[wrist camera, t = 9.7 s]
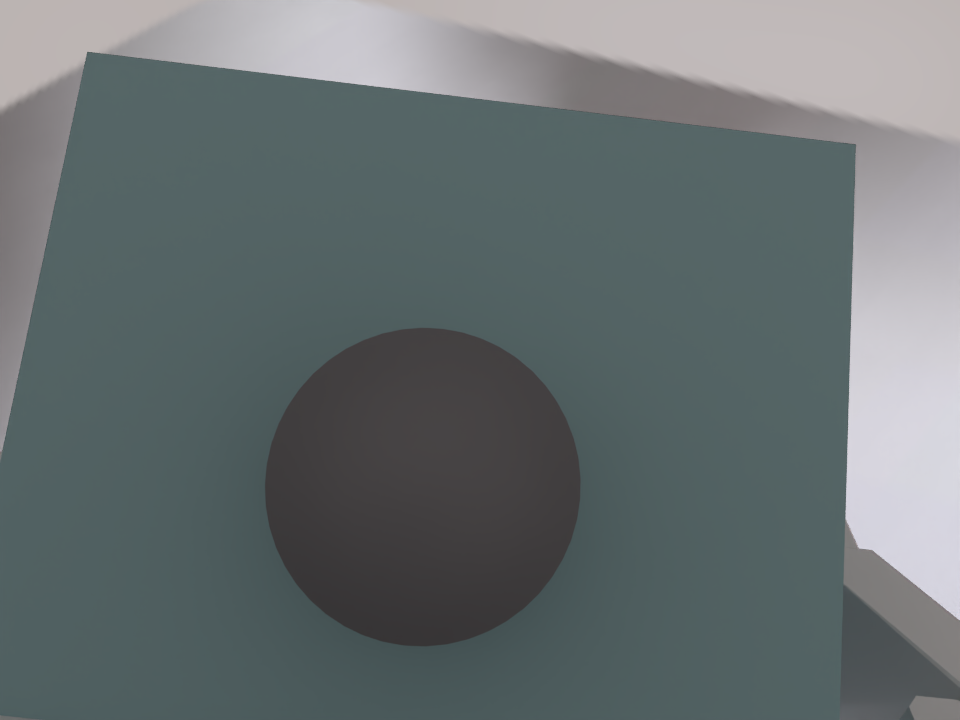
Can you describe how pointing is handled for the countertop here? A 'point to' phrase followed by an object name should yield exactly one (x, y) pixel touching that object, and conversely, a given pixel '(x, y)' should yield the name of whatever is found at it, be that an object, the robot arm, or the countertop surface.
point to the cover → (426, 412)
